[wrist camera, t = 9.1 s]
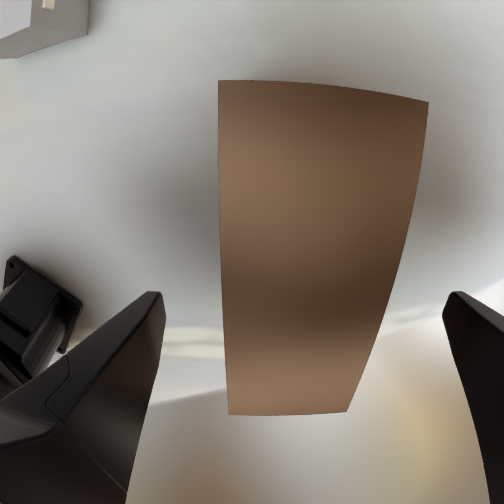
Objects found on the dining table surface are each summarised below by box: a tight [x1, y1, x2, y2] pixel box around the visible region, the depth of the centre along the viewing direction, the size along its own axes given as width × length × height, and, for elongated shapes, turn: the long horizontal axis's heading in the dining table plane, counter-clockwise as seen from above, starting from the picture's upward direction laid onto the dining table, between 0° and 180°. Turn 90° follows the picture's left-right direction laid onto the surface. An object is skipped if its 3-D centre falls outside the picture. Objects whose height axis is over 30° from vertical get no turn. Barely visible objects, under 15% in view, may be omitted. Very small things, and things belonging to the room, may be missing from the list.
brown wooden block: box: [218, 80, 429, 416], centre depth 13 cm, size 12×5×8 cm, turn 179°
